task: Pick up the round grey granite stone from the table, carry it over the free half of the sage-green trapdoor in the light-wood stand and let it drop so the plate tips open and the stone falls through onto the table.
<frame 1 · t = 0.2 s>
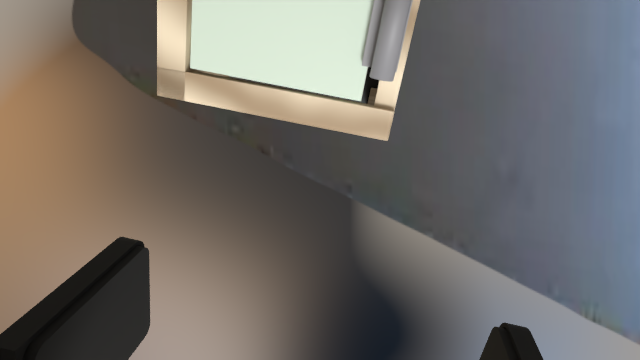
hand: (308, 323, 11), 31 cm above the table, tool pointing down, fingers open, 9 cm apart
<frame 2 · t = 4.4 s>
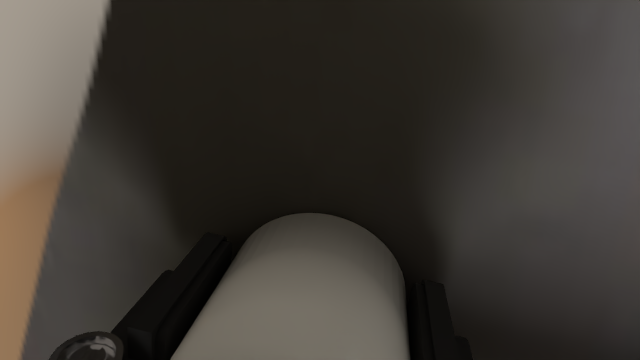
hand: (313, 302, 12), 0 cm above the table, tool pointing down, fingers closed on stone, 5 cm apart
stone: (316, 291, 12), on the table, touching gripper
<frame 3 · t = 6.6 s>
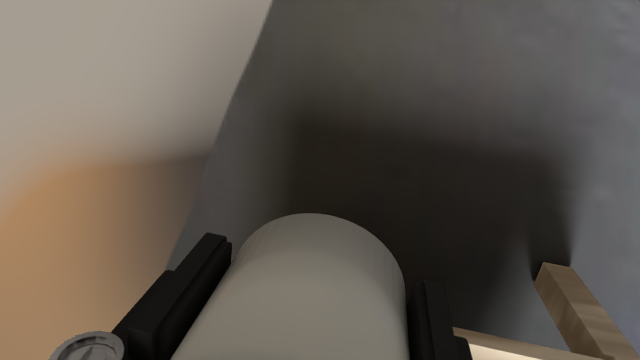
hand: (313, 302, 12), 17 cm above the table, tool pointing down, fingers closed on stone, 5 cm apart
trapdoor frame: (415, 336, 33), on the table
stone: (316, 291, 12), point 17 cm above the table, touching gripper
when the fingers open (13 cm above the table, at t = 9.1 s): stone drops 10 cm and tips over, point 3 cm above the table.
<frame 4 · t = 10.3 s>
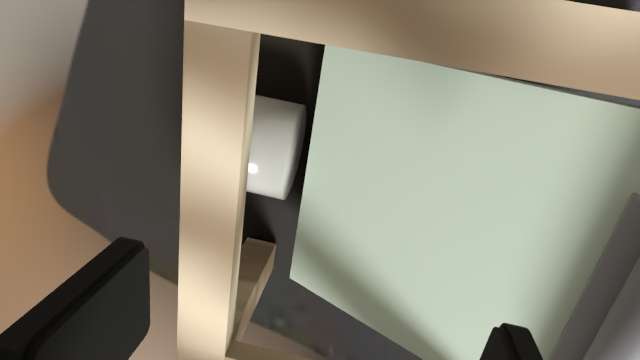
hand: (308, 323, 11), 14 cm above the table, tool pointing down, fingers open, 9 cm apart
trapdoor: (440, 239, 16), point 8 cm above the table, hinge at -27.5°
trapdoor frame: (404, 168, 24), on the table
stone: (294, 152, 22), point 3 cm above the table, tilted 90°
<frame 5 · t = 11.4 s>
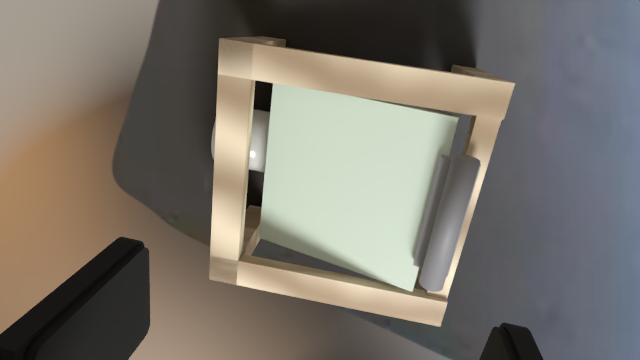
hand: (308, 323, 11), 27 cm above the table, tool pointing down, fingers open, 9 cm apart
trapdoor: (353, 193, 28), point 9 cm above the table, hinge at -15.1°
trapdoor frame: (350, 154, 37), on the table
stone: (278, 144, 35), point 3 cm above the table, tilted 90°
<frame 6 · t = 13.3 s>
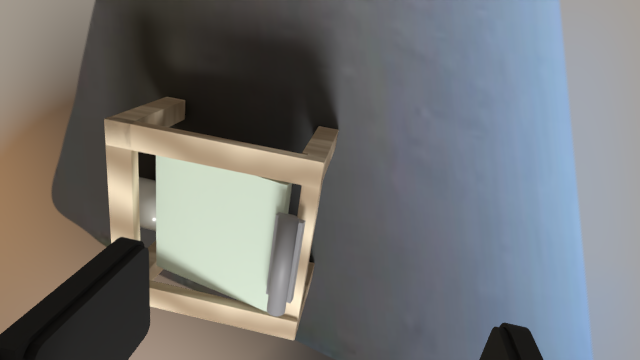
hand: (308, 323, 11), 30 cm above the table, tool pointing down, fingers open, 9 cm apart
trapdoor: (219, 236, 35), point 9 cm above the table, hinge at -13.0°
trapdoor frame: (243, 192, 44), on the table
stone: (178, 210, 43), point 3 cm above the table, tilted 90°
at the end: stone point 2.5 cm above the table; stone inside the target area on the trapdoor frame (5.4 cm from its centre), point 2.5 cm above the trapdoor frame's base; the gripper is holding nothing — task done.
